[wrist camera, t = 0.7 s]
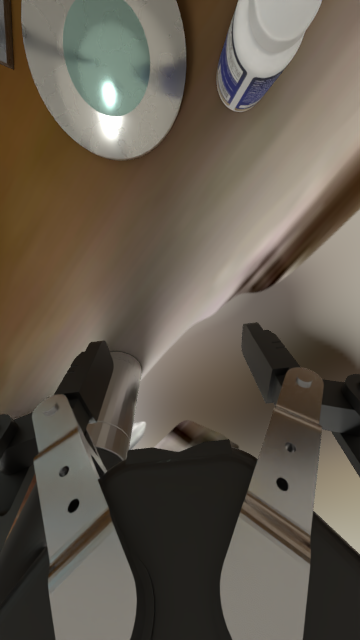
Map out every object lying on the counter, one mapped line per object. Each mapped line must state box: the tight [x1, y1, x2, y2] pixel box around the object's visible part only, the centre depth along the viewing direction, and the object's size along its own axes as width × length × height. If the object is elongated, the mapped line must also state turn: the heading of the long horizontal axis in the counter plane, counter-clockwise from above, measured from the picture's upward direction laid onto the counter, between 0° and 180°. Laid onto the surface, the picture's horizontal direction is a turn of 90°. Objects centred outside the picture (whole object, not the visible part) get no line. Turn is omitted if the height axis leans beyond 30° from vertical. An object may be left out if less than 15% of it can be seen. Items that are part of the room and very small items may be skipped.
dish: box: [21, 0, 186, 161], centre depth 20 cm, size 15×15×2 cm
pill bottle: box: [217, 0, 322, 112], centre depth 17 cm, size 6×6×10 cm
